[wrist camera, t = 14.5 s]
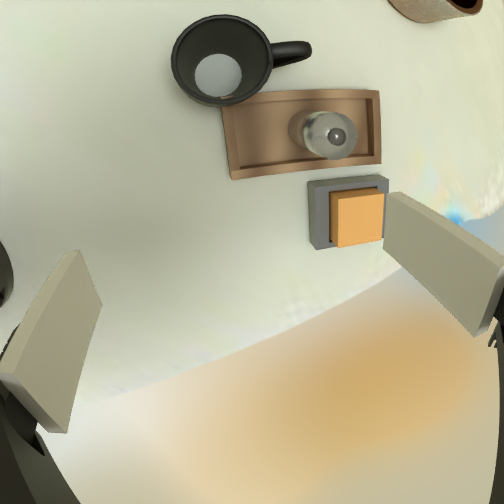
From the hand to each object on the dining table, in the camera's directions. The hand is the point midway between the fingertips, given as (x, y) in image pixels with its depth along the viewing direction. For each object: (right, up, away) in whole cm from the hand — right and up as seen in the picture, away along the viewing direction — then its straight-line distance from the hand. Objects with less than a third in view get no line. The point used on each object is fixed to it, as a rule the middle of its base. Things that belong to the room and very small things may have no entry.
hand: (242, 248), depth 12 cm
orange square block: (+13, +5, +25) cm, 28 cm away
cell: (+6, +14, +20) cm, 25 cm away
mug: (-2, +19, +17) cm, 26 cm away
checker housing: (+12, +6, +26) cm, 29 cm away
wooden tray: (+6, +14, +21) cm, 26 cm away
